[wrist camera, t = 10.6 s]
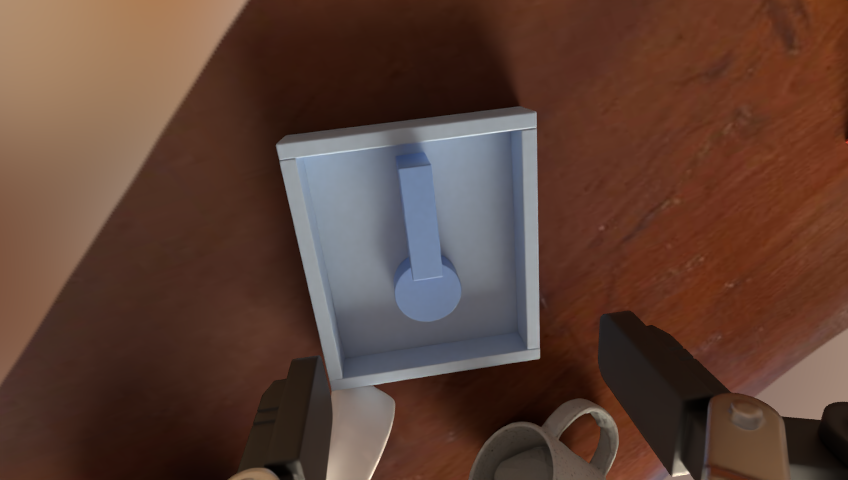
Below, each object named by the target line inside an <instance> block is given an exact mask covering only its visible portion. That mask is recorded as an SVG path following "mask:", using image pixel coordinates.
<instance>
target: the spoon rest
mask: <svg viewBox="0 0 848 480" xmlns="http://www.w3.org/2000/svg"><path fill="white" fill-rule="evenodd" d="M331 401H332V409H333V423H332V432H331V441H330V450H329V458H328V467H327V476H326V480H370V479H371V477H372V475H373V473H374V470H375V468H376V466H377V464H378V462H379V460H380V457H381V455H382V452H383V450H384V447H385V445H386V442H387V440H388V437H389V434H390V431H391V427H392V423H393V419H394V412H395V402H394V400H393V399H392V398H391V397H390V396H389V395H387V394H386V393H384V392H383V391H381V390H379V389H377V388H375V387H374V386H372V385H368V386H362V387H356V388H349V389H343V390H335V391H332V395H331Z"/></svg>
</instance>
